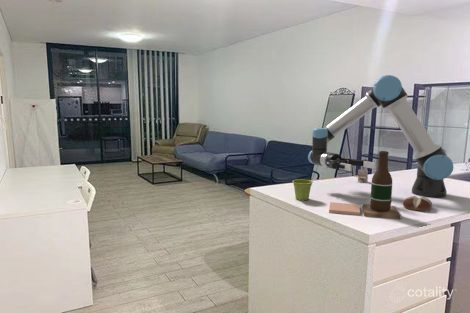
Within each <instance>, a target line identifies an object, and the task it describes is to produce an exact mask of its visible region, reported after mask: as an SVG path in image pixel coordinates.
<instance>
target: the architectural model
mask: <svg viewBox="0 0 470 313" xmlns="http://www.w3.org/2000/svg"><path fill="white" fill-rule="evenodd" d="M354 178H357V182H363V183H368V182H369V180H368V179H369V170H367V169H366V170H365V169H358V171H357V175H354Z"/></svg>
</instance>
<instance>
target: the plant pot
mask: <svg viewBox="0 0 470 313" xmlns="http://www.w3.org/2000/svg"><path fill="white" fill-rule="evenodd" d="M292 183H293V187H294V195H295V196H294V197H295V199H296V200H297V201H298V200H299V201H303V202H304V201H308V200H309V198H310V192H311V188H312V186H313V183H314V181H313V180H310V179H304V178H303V179H301V178H300V179H298V178H297V179H293V180H292Z"/></svg>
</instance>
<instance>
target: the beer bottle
mask: <svg viewBox="0 0 470 313" xmlns="http://www.w3.org/2000/svg"><path fill="white" fill-rule="evenodd" d="M389 154H390V153H389V151H387V150H380V151H378V155H379V156H378V162H377V169H376V171H375V172H374V174H373V175H372V178H371V184H370V185H371V187H370V201H369V204H370V208H371V209H373V210H374V211H380V212H388V211H389V210H390V208H391V206H392V195H393V194H392V192H393V178H392V175H391V173H390V172H389V166H388V165H389Z"/></svg>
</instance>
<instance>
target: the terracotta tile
mask: <svg viewBox="0 0 470 313" xmlns="http://www.w3.org/2000/svg"><path fill="white" fill-rule="evenodd" d="M328 213H329V214H342V215H353V216H361V209H360V204H357V203H346V202H335V201H334V202H333V201H330V202H329V209H328Z"/></svg>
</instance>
